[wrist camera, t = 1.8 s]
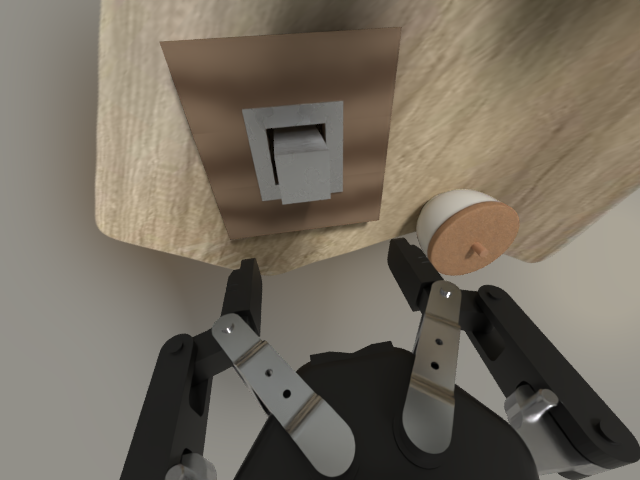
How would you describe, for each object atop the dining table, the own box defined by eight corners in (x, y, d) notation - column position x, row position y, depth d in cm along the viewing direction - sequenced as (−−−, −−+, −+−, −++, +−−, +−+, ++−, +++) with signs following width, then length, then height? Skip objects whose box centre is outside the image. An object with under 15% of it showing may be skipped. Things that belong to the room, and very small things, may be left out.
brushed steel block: (273, 127, 30) (274, 155, 22) (314, 124, 30) (329, 150, 22) (280, 167, 33) (282, 204, 25) (316, 163, 33) (330, 198, 25)
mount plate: (170, 42, 24) (157, 41, 21) (389, 28, 25) (403, 26, 23) (232, 227, 37) (229, 241, 35) (372, 209, 39) (379, 221, 36)
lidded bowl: (476, 162, 37) (539, 196, 28) (477, 223, 44) (526, 264, 36) (397, 197, 38) (433, 240, 30) (410, 250, 46) (442, 296, 38)
